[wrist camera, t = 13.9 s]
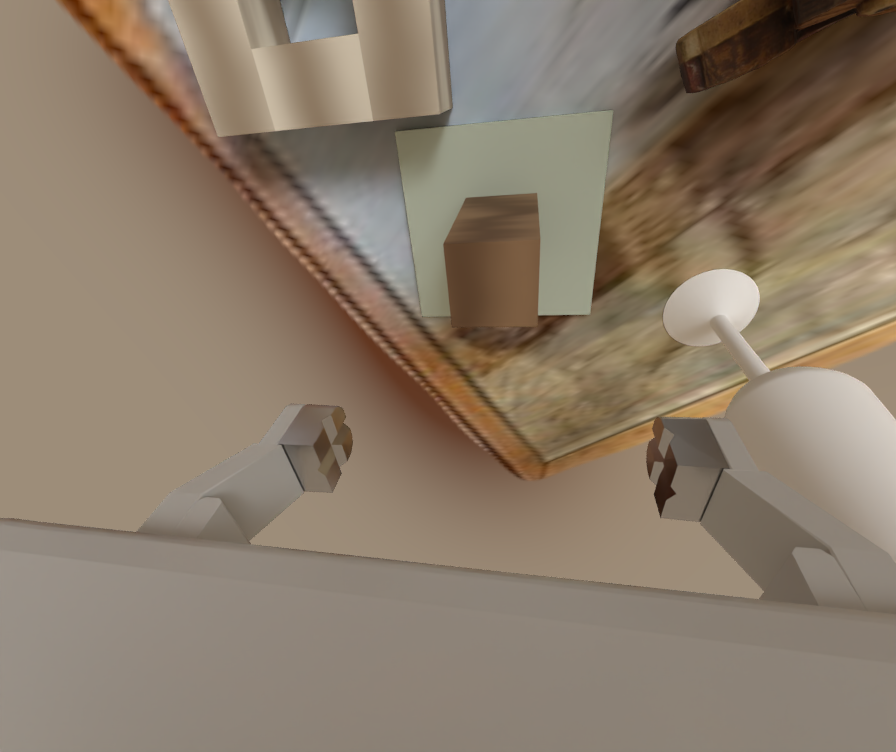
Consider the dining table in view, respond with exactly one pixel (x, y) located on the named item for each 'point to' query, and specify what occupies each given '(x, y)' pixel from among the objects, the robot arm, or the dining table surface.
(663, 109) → the dining table surface
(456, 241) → the walnut peg
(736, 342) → the champagne flute
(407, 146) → the sage mat
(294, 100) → the pocket block
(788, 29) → the wooden carving
